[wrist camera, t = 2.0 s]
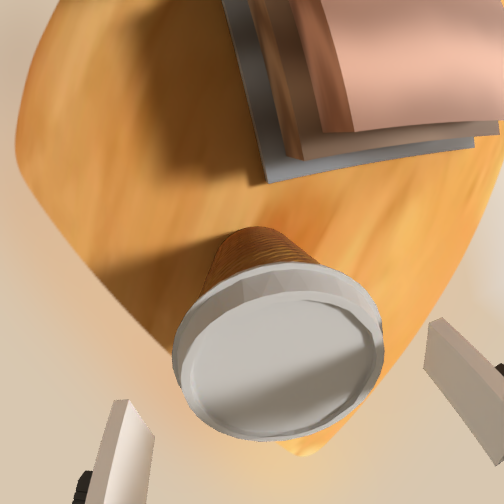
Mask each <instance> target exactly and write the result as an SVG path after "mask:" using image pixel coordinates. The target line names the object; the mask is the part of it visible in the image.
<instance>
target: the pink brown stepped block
mask: <svg viewBox="0 0 504 504" xmlns="http://www.w3.org/2000/svg"><path fill="white" fill-rule="evenodd" d="M221 1H222V4H223V8H224V12H225V15H226V19H227V23H228V27H229V30H230V34H231V38H232V42H233V46H234V50H235V53H236V57H237V61H238V65H239V69H240V73H241V77H242V81H243V85H244V89H245V93H246V97H247V102H248V106H249V110H250V114H251V118H252V122H253V127H254V131H255V135H256V139H257V144H258V148H259V152H260V157H261V161H262V166H263V170H264V174H265V179H266V182H267V183H268V184H270V183H274V182H278V181H283V180H287V179H292V178H297V177H301V176H306V175H311V174H316V173H320V172H325V171H330V170H335V169H341V168H346V167H351V166H357V165H362V164H368V163H373V162H379V161H385V160H391V159H397V158H403V157H410V156H416V155H423V154H430V153H437V152H444V151H452V150H460V149H468V148H475V146H474V137H475V136H488V135H500V133H499V124H498V120H504V8H503V5H502V3H501V0H221Z"/></svg>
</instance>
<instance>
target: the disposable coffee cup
mask: <svg viewBox="0 0 504 504" xmlns="http://www.w3.org/2000/svg"><path fill="white" fill-rule="evenodd" d="M383 362H384V343H383V331H382V320H381V317H380V314H379V311H378V309H377V306H376V304H375V302H374V301H373V299H372V298H371V297H370V295H369V294H368V292H367V291H366V290H365V289H364V288H363V287H362V286H361V285H360V284H359V283H357V282H356V281H355V280H353V279H352V278H350V277H349V276H347V275H345V274H344V273H342V272H340V271H337V270H334V269H332V268H329V267H326V266H324V265H321V264H320V263H318V262H317V261H316V260H315V259H313V258H312V257H311V256H309V255H308V254H307V253H306V252H305V251H303V250H302V249H301V248H299V247H298V246H297V245H295V244H294V243H293V242H292V241H290V240H289V239H288V238H287V237H286V236H284V235H283V234H282V233H280V232H278V231H276V230H274V229H270V228H266V227H248V228H245V229H242V230H239V231H237V232H235V233H234V234H232V235H231V236H229V237H228V238H227V239H226V240H225V241H224V242H223V243H222V244H221V246H220V247H219V249H218V251H217V253H216V255H215V258H214V261H213V263H212V266H211V268H210V271H209V273H208V275H207V278H206V281H205V283H204V286H203V289H202V291H201V294H200V296H199V298H198V300H197V301H196V302H195V303H194V304H193V306H192V307H191V308H190V309H189V310H188V311H187V313H186V315H185V317H184V318H183V320H182V322H181V324H180V326H179V327H178V329H177V332H176V335H175V338H174V343H173V350H172V364H173V370H174V373H175V376H176V379H177V382H178V384H179V386H180V388H181V389H182V392H183V394H184V396H185V398H186V400H187V403H188V405H189V407H190V408H191V409H192V411H193V412H194V413H195V414H196V415H197V417H198V418H200V419H201V420H202V421H203V422H205V423H206V424H207V425H209V426H210V427H212V428H214V429H215V430H217V431H219V432H221V433H224V434H227V435H230V436H232V437H235V438H238V439H245V440H252V441H258V442H265V441H266V442H267V441H286V440H290V439H295V438H299V437H303V436H307V435H311V434H313V433H316V432H318V431H320V430H323V429H325V428H327V427H329V426H331V425H333V424H334V423H336V422H338V421H339V420H341V419H343V418H344V417H345V416H346V415H348V414H349V413H350V412H351V411H352V410H353V409H355V408H356V407H357V406H358V405H359V404H360V403H361V402H362V401H363V400H364V399H365V398H366V397H367V395H368V394H369V393H370V391H371V390H372V389H373V387H374V385H375V383H376V381H377V379H378V377H379V375H380V373H381V369H382V366H383Z"/></svg>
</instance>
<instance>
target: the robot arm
mask: <svg viewBox="0 0 504 504" xmlns="http://www.w3.org/2000/svg"><path fill="white" fill-rule="evenodd" d="M423 369H424V370H425V371H426V372H427V374H428V375H429V376H430V377H431V379H432V380H433V381H434V383H435V384H436V385H437V387H438V388H439V389H440V390H441V392H442V393H443V394H444V396H445V397H446V398H447V400H448V401H449V402H450V404H451V405H452V406H453V407H454V409H455V410H456V412H457V413H458V414H459V416H460V417H461V418H462V419H463V421H464V422H465V424H466V425H467V426H468V428H469V429H470V430H471V432H472V433H473V435H474V436H475V437H476V439H477V440H478V442H479V443H480V444H481V446H482V447H483V449H484V450H485V452H486V453H487V454H488V456H489V457H490V459H491V460H492V462H493V463H494V465H495V466H497V465H498V464H500V463H501V462H502V461H504V364H502V363H501V364H499V365H497V366H496V367H493V365H491V363H490V362H489V361H488V360H486V358H485V357H483V355H482V354H480V353H479V352H478V351H477V350H476V349H475V348H474V347H473V346H472V345H471V344H470V343H469V342H468V341H467V340H466V339H465V338H464V337H463V336H462V335H461V334H460V333H459V332H458V331H456V330H455V329H454V328H453V327H452V326H451V325H450V324H449V323H448V322H447V321H446V320H445V319H443V318H440V319H437V320H435V321H433V322H430V323H429V327H428V336H427V345H426V353H425V360H424V368H423ZM154 440H155V436H154V435H153V434H152V432H151V431H150V429H149V428H148V427H147V425H146V424H145V422H144V421H143V420H142V418H141V417H140V415H139V414H138V412H137V411H136V409H135V408H134V406H133V405H132V403H131V402H130V400H129V399H127V400H117V401H114V402H113V405H112V408H111V412H110V415H109V418H108V421H107V424H106V428H105V431H104V434H103V438H102V441H101V445H100V448H99V451H98V455H97V459H96V462H95V466H94V469H93V471H85V472H84V473H83V474H82V476H81V477H80V479H79V480H78V484H77V487H76V493H75V495H74V501H73V502H72V504H146V499H147V491H148V483H149V475H150V468H151V461H152V453H153V447H154Z"/></svg>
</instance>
